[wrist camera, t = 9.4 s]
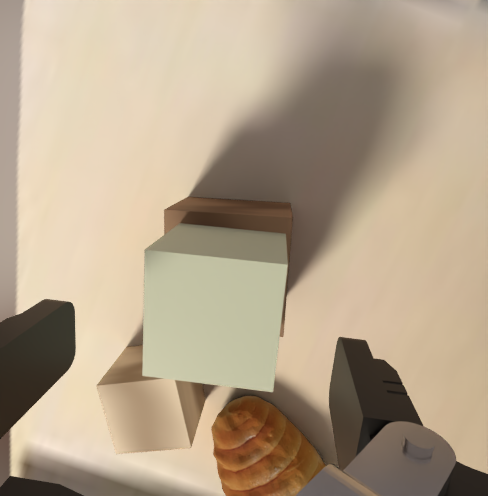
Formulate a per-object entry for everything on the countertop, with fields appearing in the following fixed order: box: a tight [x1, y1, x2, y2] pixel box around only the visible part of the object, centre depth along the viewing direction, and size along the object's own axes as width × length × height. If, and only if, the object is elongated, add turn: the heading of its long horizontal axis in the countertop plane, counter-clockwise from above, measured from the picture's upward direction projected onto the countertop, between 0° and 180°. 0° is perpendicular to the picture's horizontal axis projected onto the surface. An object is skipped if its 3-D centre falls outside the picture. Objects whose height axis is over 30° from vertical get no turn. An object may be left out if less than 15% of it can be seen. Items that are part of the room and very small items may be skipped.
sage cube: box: [142, 223, 288, 392], centre depth 17 cm, size 5×5×5 cm
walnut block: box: [164, 197, 293, 337], centre depth 21 cm, size 6×6×5 cm
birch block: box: [97, 345, 206, 454], centre depth 24 cm, size 4×4×4 cm
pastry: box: [212, 396, 326, 496], centre depth 25 cm, size 9×7×4 cm
